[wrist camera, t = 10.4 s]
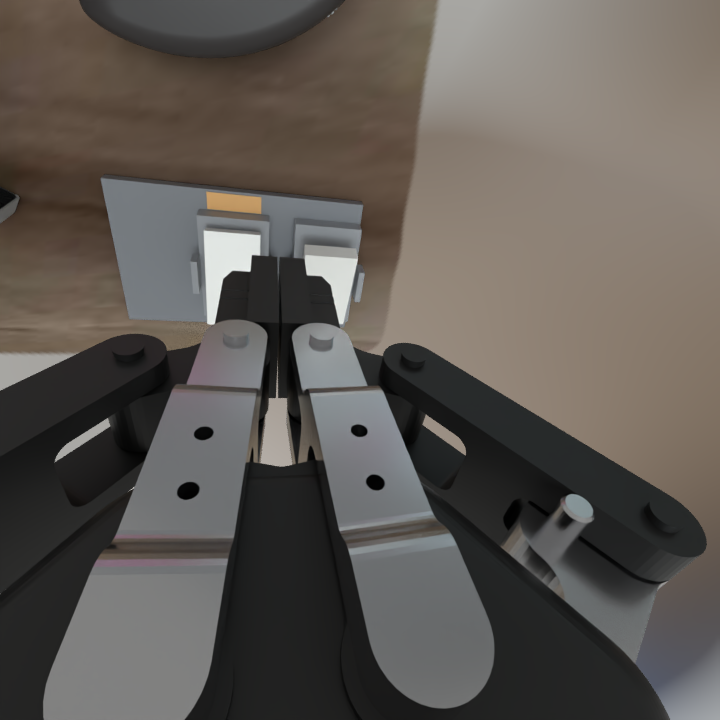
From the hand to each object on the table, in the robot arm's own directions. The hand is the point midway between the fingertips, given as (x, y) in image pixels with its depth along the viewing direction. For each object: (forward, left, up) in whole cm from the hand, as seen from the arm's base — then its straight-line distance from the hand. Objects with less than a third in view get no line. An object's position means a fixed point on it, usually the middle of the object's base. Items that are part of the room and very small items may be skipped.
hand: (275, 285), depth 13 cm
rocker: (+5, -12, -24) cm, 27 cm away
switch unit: (-2, -12, -27) cm, 30 cm away
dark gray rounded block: (-2, +8, -27) cm, 29 cm away
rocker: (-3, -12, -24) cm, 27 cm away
